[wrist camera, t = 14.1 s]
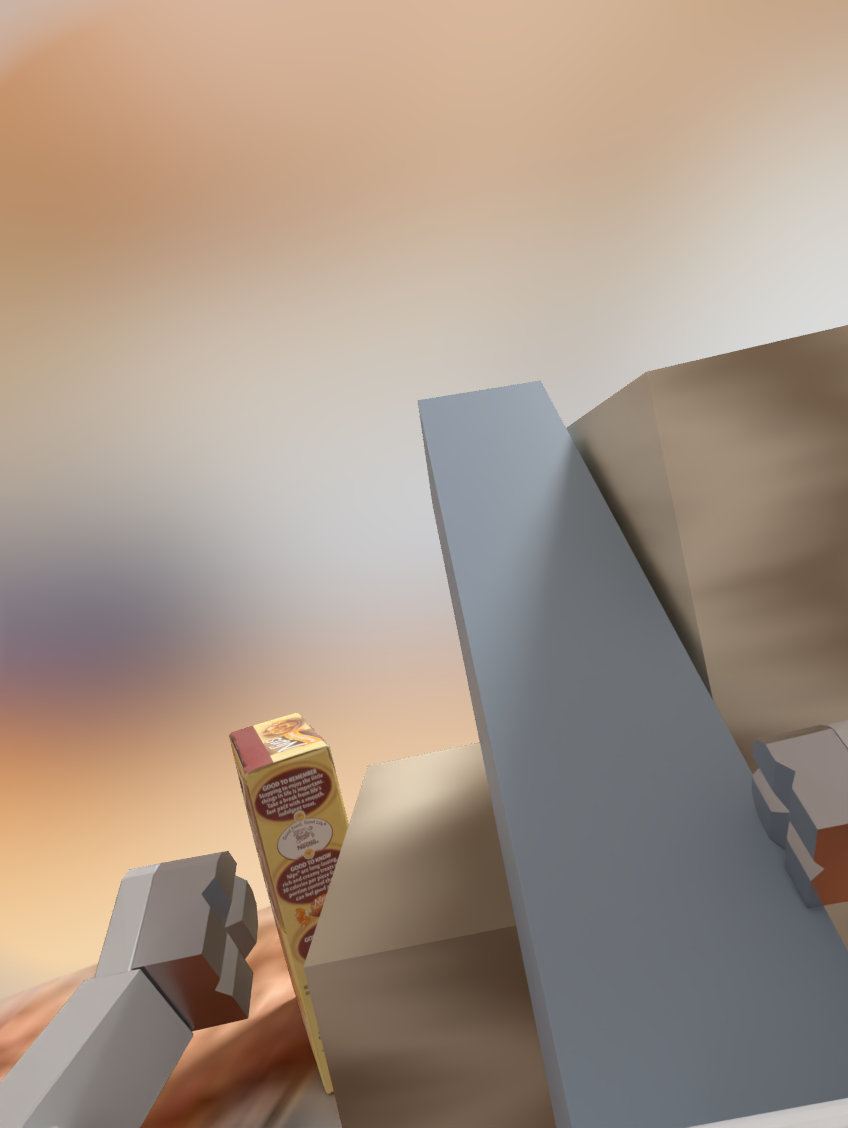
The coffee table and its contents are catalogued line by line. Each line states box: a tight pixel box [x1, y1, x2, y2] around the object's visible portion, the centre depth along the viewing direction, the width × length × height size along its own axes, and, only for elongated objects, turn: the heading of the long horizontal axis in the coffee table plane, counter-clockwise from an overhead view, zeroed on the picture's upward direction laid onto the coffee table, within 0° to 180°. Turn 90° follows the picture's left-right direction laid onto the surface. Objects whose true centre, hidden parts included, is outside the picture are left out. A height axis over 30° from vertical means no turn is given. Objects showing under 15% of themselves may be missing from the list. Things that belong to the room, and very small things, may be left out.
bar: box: [418, 381, 848, 1128], centre depth 15 cm, size 4×26×4 cm
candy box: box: [229, 713, 349, 1094], centre depth 38 cm, size 9×4×15 cm, turn 20°
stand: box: [303, 325, 848, 1128], centre depth 21 cm, size 17×12×26 cm
